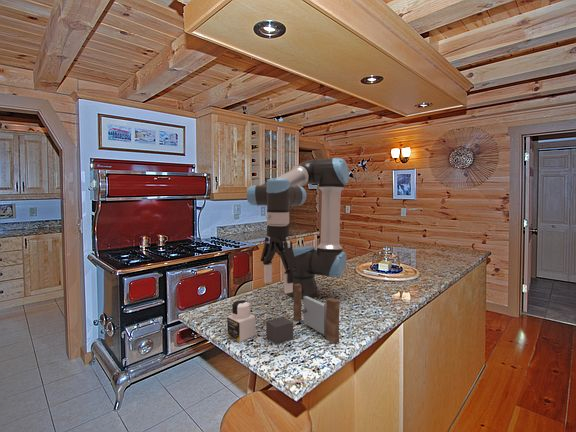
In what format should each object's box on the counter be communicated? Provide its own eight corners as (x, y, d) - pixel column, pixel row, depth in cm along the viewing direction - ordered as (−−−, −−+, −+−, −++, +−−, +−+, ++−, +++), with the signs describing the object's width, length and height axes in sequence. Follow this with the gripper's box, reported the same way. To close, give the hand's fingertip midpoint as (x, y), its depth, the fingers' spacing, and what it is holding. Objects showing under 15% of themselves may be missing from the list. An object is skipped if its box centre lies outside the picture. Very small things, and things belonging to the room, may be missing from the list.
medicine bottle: (227, 335, 112) (226, 302, 111) (243, 329, 117) (243, 297, 116) (239, 342, 107) (238, 307, 106) (256, 335, 112) (255, 302, 111)
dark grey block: (283, 332, 114) (283, 316, 114) (293, 339, 109) (293, 322, 109) (266, 337, 110) (266, 321, 110) (275, 345, 105) (275, 327, 105)
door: (307, 322, 122) (307, 294, 121) (330, 336, 110) (330, 304, 110) (300, 324, 120) (300, 295, 119) (323, 338, 109) (323, 306, 108)
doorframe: (298, 318, 127) (298, 283, 126) (339, 341, 107) (339, 300, 106) (293, 319, 125) (293, 284, 124) (333, 343, 106) (333, 302, 105)
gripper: (251, 222, 116) (251, 280, 117) (288, 228, 95) (288, 299, 96) (269, 221, 120) (269, 277, 121) (309, 227, 99) (308, 295, 100)
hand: (277, 287), depth 109 cm, fingers open, 13 cm apart
